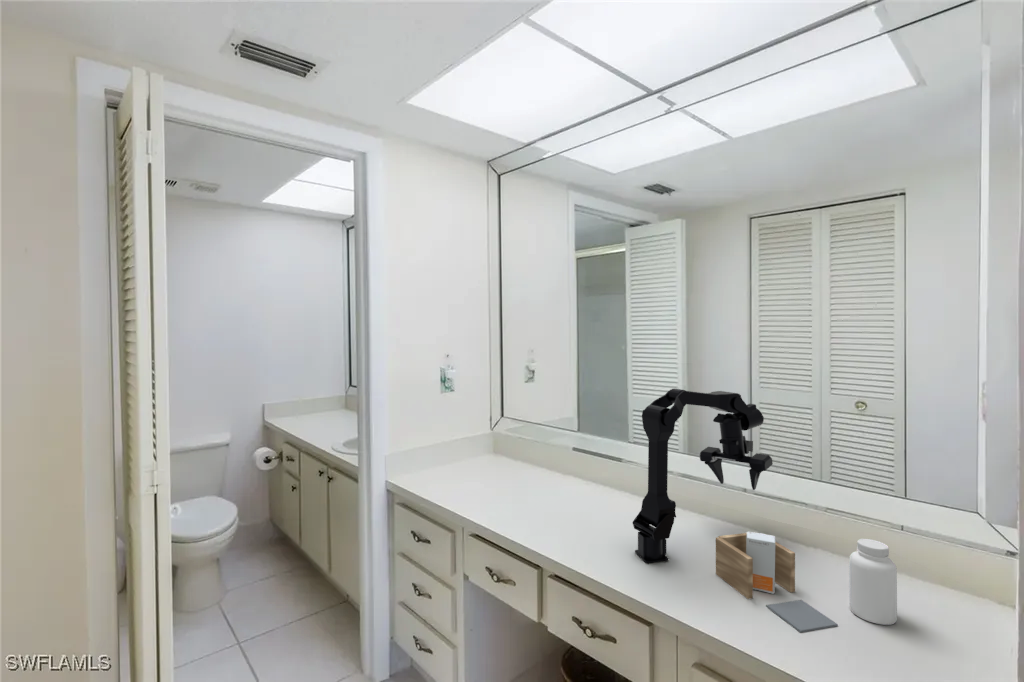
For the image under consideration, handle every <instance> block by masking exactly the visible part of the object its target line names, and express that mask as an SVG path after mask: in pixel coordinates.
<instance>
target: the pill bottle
mask: <svg viewBox="0 0 1024 682" xmlns="http://www.w3.org/2000/svg"><path fill="white" fill-rule="evenodd" d="M856 546H857V547H856V551H853V552H851V554H850V555H849V557H848V559H849V562H848V563H849V566H848V567H849V571H848V572H849V573H848V574H849V586H848V587H849V592H848V593H849V608H850V610H851V612H852V613H853V614H854V615H855V616H856V617H858V618H860V619H862V620H864V621H866V622H870V623H874V624H877V625H884V626H890V625H893V624H895V623H896V622H897V620H898V570H897V566H896V564H895V562H894V561H893V559H891V558H890V556H889V555H890V547H889V546H888V545H887V544H886V543H884V542H882V541H879V540H875V539H872V538H871V539H870V538H860V539H858V540H857V541H856Z"/></svg>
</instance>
